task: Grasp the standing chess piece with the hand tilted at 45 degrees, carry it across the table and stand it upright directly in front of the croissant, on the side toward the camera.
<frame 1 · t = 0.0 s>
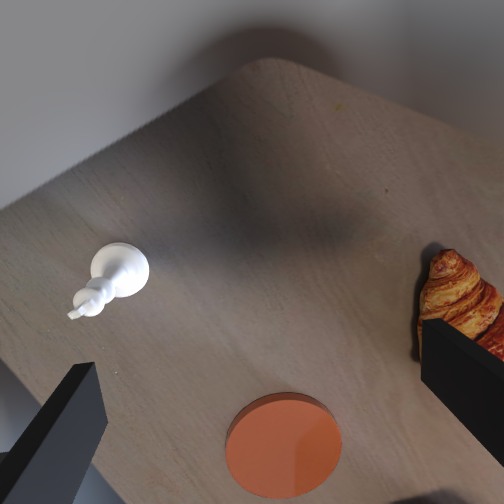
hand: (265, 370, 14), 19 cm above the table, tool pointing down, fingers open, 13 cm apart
chess piece: (121, 268, 32), on the table
orange flat disc: (282, 442, 37), on the table
croissant: (453, 336, 36), on the table
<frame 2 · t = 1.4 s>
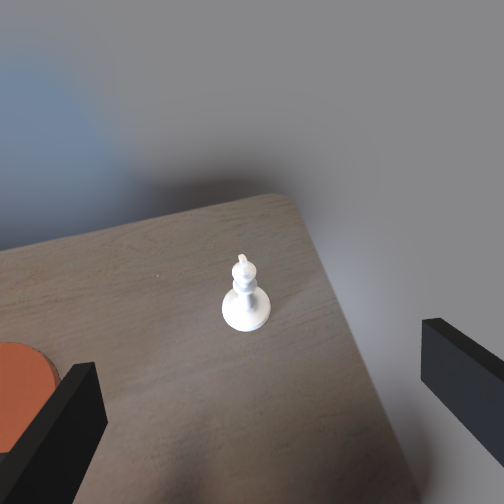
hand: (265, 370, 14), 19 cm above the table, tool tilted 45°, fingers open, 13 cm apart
chess piece: (246, 308, 36), on the table
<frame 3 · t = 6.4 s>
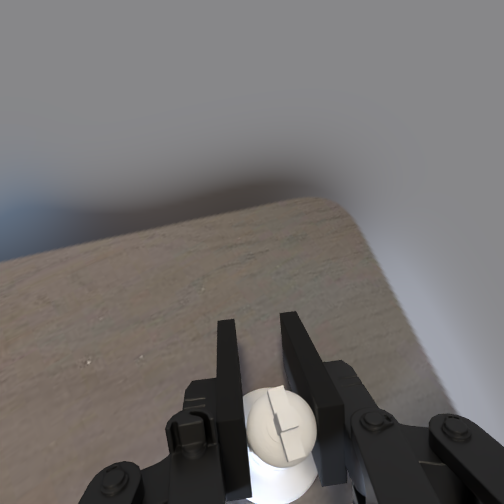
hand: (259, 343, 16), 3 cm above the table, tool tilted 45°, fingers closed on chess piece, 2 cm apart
chess piece: (270, 443, 17), on the table, touching gripper
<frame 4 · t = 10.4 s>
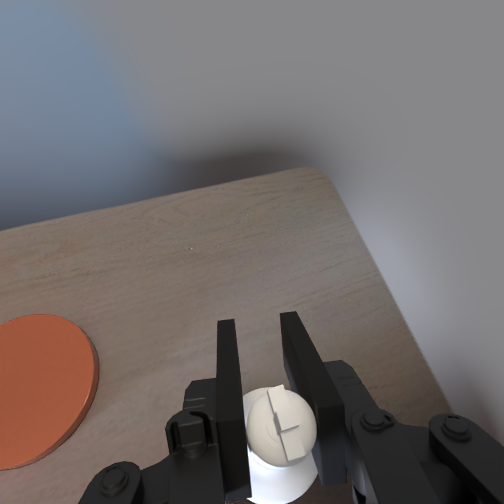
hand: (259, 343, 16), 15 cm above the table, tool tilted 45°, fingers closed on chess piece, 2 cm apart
chess piece: (270, 442, 17), point 12 cm above the table, touching gripper
orange flat disc: (26, 386, 30), on the table
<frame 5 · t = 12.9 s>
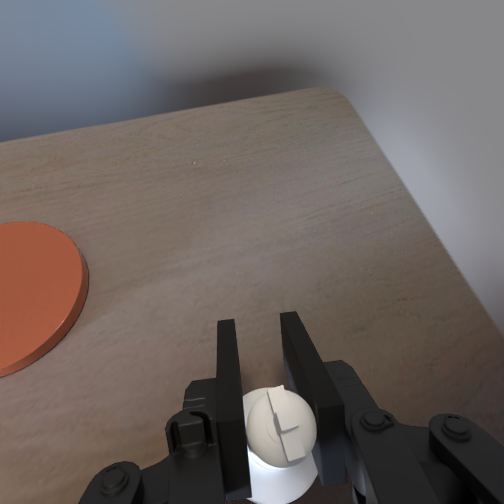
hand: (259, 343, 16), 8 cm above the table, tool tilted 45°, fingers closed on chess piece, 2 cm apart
chess piece: (270, 442, 17), point 5 cm above the table, touching gripper
orange flat disc: (5, 296, 26), on the table
when the fingers open (3 cm above the table, at t = 14.4 s): chess piece stays where it is, on the table.
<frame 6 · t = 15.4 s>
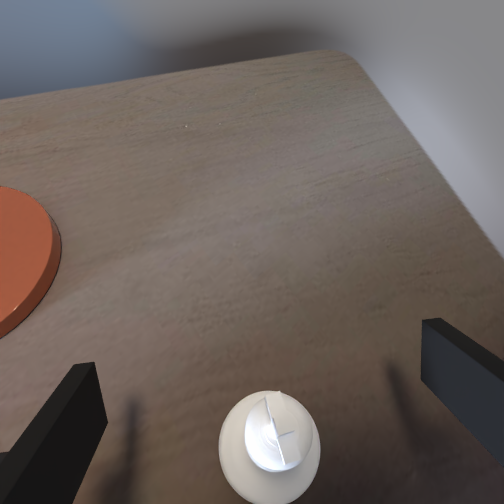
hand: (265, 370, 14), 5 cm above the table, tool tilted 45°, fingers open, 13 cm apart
chess piece: (269, 445, 17), on the table
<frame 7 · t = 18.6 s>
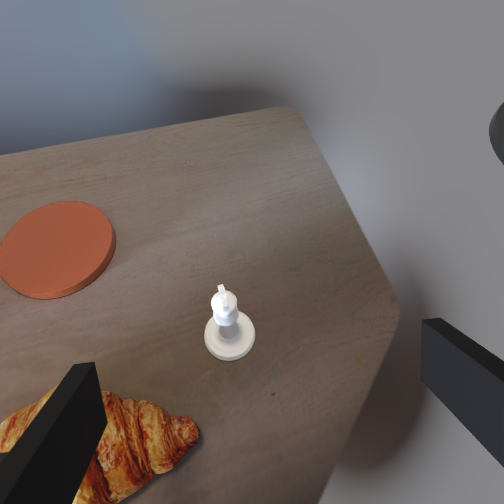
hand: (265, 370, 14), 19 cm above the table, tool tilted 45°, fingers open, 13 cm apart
chess piece: (229, 335, 34), on the table
orange flat disc: (60, 249, 39), on the table
croissant: (74, 454, 29), on the table
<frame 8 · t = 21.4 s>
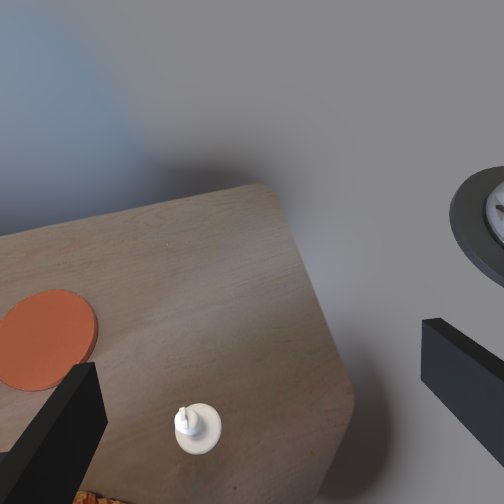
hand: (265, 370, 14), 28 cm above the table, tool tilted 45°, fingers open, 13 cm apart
chess piece: (198, 428, 38), on the table
orange flat disc: (47, 338, 43), on the table
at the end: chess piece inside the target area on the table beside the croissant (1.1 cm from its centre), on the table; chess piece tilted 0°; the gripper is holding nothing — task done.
